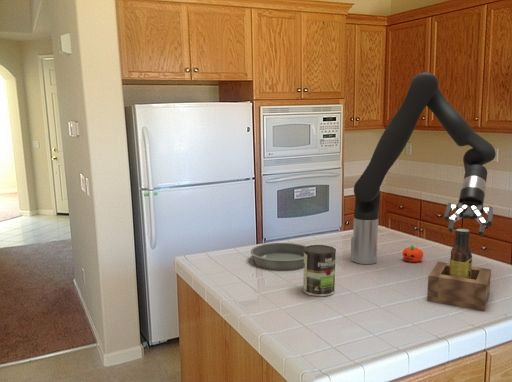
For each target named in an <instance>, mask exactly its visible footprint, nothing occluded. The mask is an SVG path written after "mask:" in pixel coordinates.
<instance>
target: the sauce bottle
mask: <svg viewBox="0 0 512 382" xmlns="http://www.w3.org/2000/svg"><path fill="white" fill-rule="evenodd" d="M470 233H471V232H470V230H469V229H467V228H466V229H465V228H457V229H455V231H454V234H455V242H454V243H455V244H454V245H453V247H451V250H450V259H449V263H450V272H449V276H455V277H461V278H467V279H471V270H472V267H473V254H472V251H471V247H470V244H469V243H470V242H469V240H470V239H469V238H470V235H471V234H470Z"/></svg>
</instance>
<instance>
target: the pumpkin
mask: <svg viewBox="0 0 512 382" xmlns="http://www.w3.org/2000/svg"><path fill="white" fill-rule="evenodd" d="M401 254H402V257H403V260H404V261H406V262H410V263H411V262H413V263H417V262H420V261H421V260H422V259H423V257H424V251H422V249H420V248H418V247H414V245H413V244H412V245H410V247H409V246H408V247H405V248H404V249H403V251H402V253H401Z"/></svg>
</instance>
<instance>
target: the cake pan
mask: <svg viewBox="0 0 512 382" xmlns="http://www.w3.org/2000/svg"><path fill="white" fill-rule="evenodd" d="M306 246H307V245H304V244H300V243H294V242H293V243H291V242H272V243H270V242H269V243H263V244H259V245H256V246H254V247H253V248H251V249H250V254H251V256H253V259H254V262H255V264H256V266H258V267H261V268H264V269H268V270H278V271H289V270H290V271H291V270H298V269H302V268H304V247H306Z"/></svg>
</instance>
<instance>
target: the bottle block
mask: <svg viewBox="0 0 512 382" xmlns="http://www.w3.org/2000/svg"><path fill="white" fill-rule="evenodd" d="M449 272H450V262H444V261H437V262H436V264H435V265H434V266H433V268H432V270H431V271H430V272H429V274H428V276H427V277H428V278H427V291H426V292H427V295H426V301H427V302H434V303H439V304H444V305H445V304H446V305H450V306H454V307H459V308H465V309H466V308H467V309H470V310H476V311H482V312H485V311H486V307H487V303H488V300H489V297H490V291H491V277H492V276H491V275H492V269H491V268H484V267H479V266H472V270H471V279H467V278H461V277H455V276H449Z"/></svg>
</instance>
